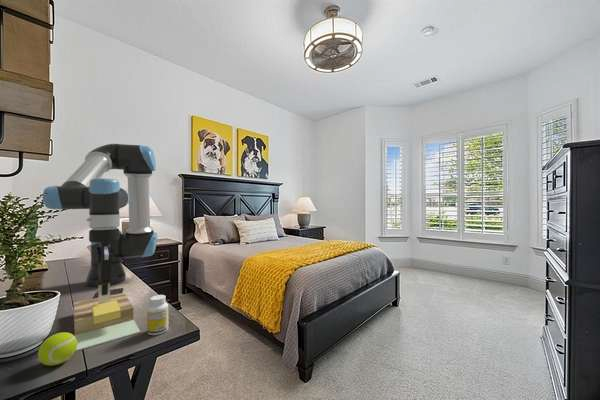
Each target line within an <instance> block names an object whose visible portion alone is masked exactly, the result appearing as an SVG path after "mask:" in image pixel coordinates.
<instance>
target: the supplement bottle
mask: <svg viewBox="0 0 600 400" xmlns="http://www.w3.org/2000/svg"><path fill="white" fill-rule="evenodd" d="M166 299H167V298H166V295H164V294H158V295H154V296H152V297H149V304H150V305H148V307H147V308H146V309H147V311H146V314H147V315H146V318H147V319H146V321H147V322H146V323H147V324H146V326H147V328H146V330H147V331H146V332H147V334H148V335H149V336H158V335H162V334H164V333H166V332H168V330H169V327H170V326H169V325H170V323H169V318H170V317H169V313H170V312H169V304H168V303H167V302H166Z"/></svg>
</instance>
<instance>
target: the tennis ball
mask: <svg viewBox="0 0 600 400" xmlns="http://www.w3.org/2000/svg"><path fill="white" fill-rule="evenodd" d="M77 344H78V343H77V339H76V337H75V334H73V333H70V332H63V331H62V332H57V333H54V334H52V335H50V336H49V337H47V338H46V339H45V340H44V341H43V342H42V343H41V345H40V346H39V348H38V352H37V357H38V360H39V362H40V363H42V364H43V365H45V366H50V367H51V366H58V365H61V364H63V363H65V362H67V361H68V360H69V359H71V357H72V356H73V355H74V353H75V352H77V351H76V348H77Z"/></svg>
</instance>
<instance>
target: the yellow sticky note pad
mask: <svg viewBox="0 0 600 400" xmlns="http://www.w3.org/2000/svg"><path fill="white" fill-rule="evenodd" d="M92 315H93V320H94V324H97V323H101V322H105V321H109V320H113V319H117V318H121V310H120V307H119V305H118V303H117V300H115V301H111V302H106V303H101V304H96V305H92Z"/></svg>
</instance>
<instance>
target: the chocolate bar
mask: <svg viewBox="0 0 600 400" xmlns="http://www.w3.org/2000/svg"><path fill="white" fill-rule="evenodd" d="M121 293H124V287H120V288H119V287H118V288H113V289H110V296H111V295H116V294H121ZM95 298H99V290H98V291H96V293H95V294H94V296H93V298H92V299H95Z"/></svg>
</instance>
